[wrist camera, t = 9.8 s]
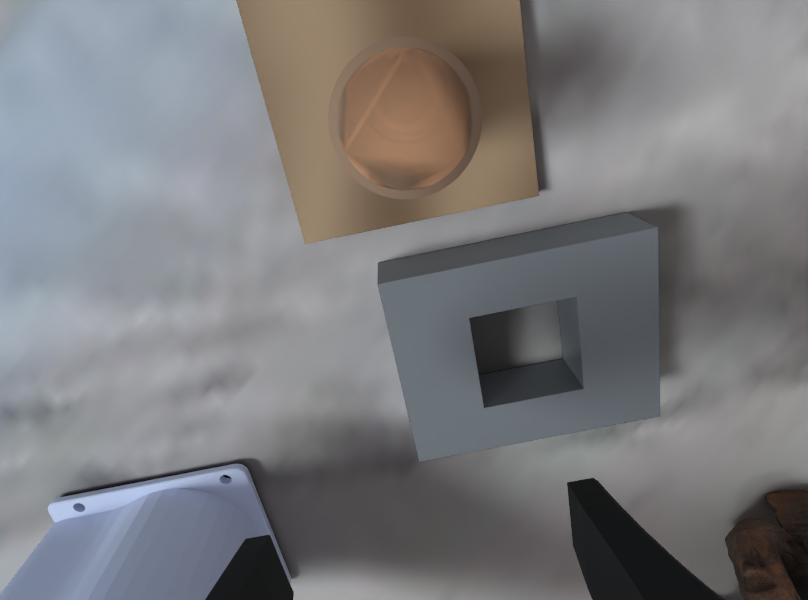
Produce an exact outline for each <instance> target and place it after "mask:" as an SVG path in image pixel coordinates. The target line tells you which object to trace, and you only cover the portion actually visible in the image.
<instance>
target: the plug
mask: <svg viewBox="0 0 808 600" xmlns="http://www.w3.org/2000/svg"><path fill="white" fill-rule="evenodd" d="M328 123H329V132H330V138H331V141H332V144H333V148H334V150H335V152H336V155H337V157H338V159H339V160H340V162H341V164H342V165H343V167H344V168H345V169H346V171H347V172H348V173H349V174H350V175H351V176H352V177H353V178H354V179H355V180H356V181H357V182H358V183H360V184H361V185H362V186H363V187H365V188H367V189H368V190H370V191H372V192H374V193H376V194H379V195H381V196H385V197H388V198H394V199H417V198H422V197H426V196H429V195H432V194H434V193H437V192H439V191H440V190H442V189H444V188H446V187H447V186H448V185H450V184H451V183H452V182H454V181H455V180H456V179H457V178H458V177H459V176H460V175H461V174H462V172H463V171H464V170H465V169H466V167H467V166H468V164H469V163H470V161H471V160H472V158H473V156H474V153H475V151H476V149H477V146H478V143H479V140H480V135H481V130H482V106H481V101H480V96H479V93H478V90H477V87H476V84H475V82H474V80H473V78H472V76H471V74H470V73H469V71H468V70H467V68H466V67H465V66H464V65H463V63H462V62H461V61H460V60H459V59H458V58H457V57H456V56H455V55H454V54H453V53H451V52H450V51H449V50H447V49H446V48H444V47H443V46H441V45H439V44H437V43H435V42H432V41H430V40H426V39H423V38H418V37H411V36H400V37H393V38H388V39H384V40H381V41H378V42H376V43H374V44H372V45H370V46H368V47H367V48H365V49H363V50H362V51H360V52H359V53H358V54H357V55H356V56H355V57H354V58H352V60H351V61H350V62H349V63H348V64H347V65H346V66H345V68H344V69H343V71H342V72H341V74H340V75H339V77H338V79H337V81H336V83H335V86H334V89H333V92H332V94H331V99H330V104H329V113H328Z"/></svg>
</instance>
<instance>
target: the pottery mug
mask: <svg viewBox="0 0 808 600" xmlns="http://www.w3.org/2000/svg"><path fill="white" fill-rule="evenodd" d="M766 501H767V503H768V504H769V506H770V507H771V508H772V509H773V511H774V512H775V514H776V519H777V521H778V523H779V525H780V526H781V528H780V527H778V526H776V525H775V524H772V523H769V522H766V521H763V520H757V519H744V520H743V521H741V522H739V523H738V524H737V525H736V526H735V527H734V528H733V529H732V530H731V531H730V532H729V533H728V535H727V537H726V538H725V542H726V545H727V548H728V555H729V557H730V559H731V561H732V563H733V565H734V569H735V574H736V577H737V579H738V582H739V587H740V590H741V593H742V596H743V598H744V600H808V491H805V490H798V491H785V492H777V493H769V494H767V495H766Z"/></svg>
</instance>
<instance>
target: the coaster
mask: <svg viewBox="0 0 808 600" xmlns="http://www.w3.org/2000/svg"><path fill="white" fill-rule="evenodd" d="M236 1H237V4H238V8H239V12H240V15H241V19H242V22H243V26H244V29H245V33H246V36H247V40H248V43H249V47H250V50H251V54H252V58H253V61H254V65H255V68H256V72H257V75H258V79H259V82H260V86H261V89H262V93H263V96H264V100H265V104H266V107H267V111H268V114H269V118H270V121H271V125H272V128H273V132H274V135H275V139H276V142H277V146H278V150H279V153H280V157H281V160H282V164H283V167H284V171H285V174H286V178H287V181H288V185H289V188H290V192H291V196H292V199H293V203H294V206H295V210H296V213H297V217H298V220H299V224H300V227H301V231H302V234H303V238H304V242H305V244H308V243H313V242H317V241H322V240H327V239H332V238H337V237H342V236H346V235H351V234H356V233H361V232H366V231H371V230H375V229H380V228H385V227H390V226H395V225H400V224H405V223H409V222H414V221H419V220H424V219H429V218H434V217H438V216H443V215H448V214H453V213H458V212H463V211H467V210H472V209H477V208H482V207H487V206H492V205H496V204H501V203H506V202H511V201H516V200H521V199H525V198H530V197H535V196H539V191H538V180H537V170H536V160H535V150H534V140H533V130H532V120H531V110H530V100H529V90H528V79H527V69H526V59H525V49H524V39H523V29H522V19H521V9H520V0H236ZM400 36H411V37H418V38H423V39H426V40H430V41H432V42H435V43H437V44H439V45H441V46H443V47H444V48H446V49H447V50H449V51H450V52H451V53H453V54H454V55H455V56H456V57H457V58H458V59H459V60H460V61H461V62H462V63H463V65H464V66H465V67H466V68H467V70H468V71H469V73H470V74H471V76H472V78H473V80H474V82H475V84H476V87H477V90H478V93H479V96H480V101H481V106H482V130H481V135H480V140H479V143H478V146H477V149H476V151H475V153H474V156H473V158H472V160H471V161H470V163H469V164H468V166H467V167H466V169H465V170H464V171H463V172H462V174H461V175H460V176H459V177H458V178H457V179H456V180H455V181H454V182H452V183H451V184H450V185H448V186H447V187H446V188H444V189H442V190H440V191H439V192H437V193H434V194H432V195H429V196H426V197H422V198H417V199H394V198H388V197H385V196H381V195H379V194H376V193H374V192H372V191H370V190H368V189H367V188H365V187H363V186H362V185H361V184H360V183H358V182H357V181H356V180H355V179H354V178H353V177H352V176H351V175H350V174H349V173H348V172H347V171H346V169H345V168H344V167H343V165H342V164H341V162H340V160H339V159H338V157H337V155H336V152H335V150H334V148H333V144H332V141H331V138H330V132H329V123H328V113H329V104H330V99H331V94H332V92H333V89H334V86H335V83H336V81H337V79H338V77H339V75H340V74H341V72H342V71H343V69H344V68H345V66H346V65H347V64H348V63H349V62H350V61H351V60H352V58H354V57H355V56H356V55H357V54H358V53H359V52H360V51H362V50H363V49H365V48H367V47H368V46H370V45H372V44H374V43H376V42H378V41H381V40H384V39H388V38H393V37H400Z"/></svg>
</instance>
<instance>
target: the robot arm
mask: <svg viewBox="0 0 808 600" xmlns="http://www.w3.org/2000/svg"><path fill="white" fill-rule="evenodd" d="M223 475H228V476H230V477H231V478H226V477H224V476H223ZM567 485H568V496H569V506H570V517H571V527H572V538H573V546H574V549H575V552H576V555H577V558H578V561H579V564H580V567H581V570H582V573H583V576H584V578H585V581H586V584H587V587H588V590H589V592H590V594H591V597H592V599H593V600H724V599H722V598H721V597H720V596H718V595H717V594H716V593H715V592H714V591H712V590H711V589H710V588H709V587H707V586H706V585H705V584H704V583H703V582H702V581H700V580H699V579H698V578H697V577H696V576H695V575H693V574H692V573H691V572H690V571H689V570H687V569H686V568H685V567H684V566H683V565H682V564H681V563H679V562H678V561H677V560H676V559H675V558H674V557H673V556H672V555H671V554H669V553H668V552H667V551H666V550H665V549H664V548H663V547H662V546H661V545H660V544H659V543H658V542H657V541H656V540H655V539H653V538H652V537H651V536H650V535H649V534H648V533H647V532H646V531H645V530H644V529H643V528H642V527H641V526H640V525H639V524H638V523H637V522H636V521H635V520H634V519H633V518H632V517H631V516H630V515H629V514H628V513H627V512H626V511H625V510H624V509H623V508H622V507H621V506H620V505H619V504H618V503H617V502H616V500H615V499H614V498H613V497H612V496H611V495H610V494H609V493H608V492H607V491H606V490H605V488H604V487H603V486H602V485H601V484H600V483H599V482H598V481H597V480H596V479H594V478H591V479H585V480H579V481H573V482H568V483H567ZM81 504H83V505H84V506H83V505H81ZM48 512H49V514H50V515H51V517H52V519H53V520H54V522H55V523H54V524H53V526H52V527H51V528H50V530H49V531H48V532H47V533H46V535H45V536H44V537H43V539H42V540H41V541H40V543H39V544H38V545H37V547H36V548H35V549H34V551H33V552H32V553H31V554H30V556H29V557H28V558H27V560H26V561H25V562H24V564H23V565H22V566H21V568H20V569H19V570H18V571H17V573H16V574H15V575H14V577H13V578H12V579H11V581H10V582H9V583H8V585H7V586H6V587H5V589H4V590H3V591H2V592H1V594H0V600H293V594H294V593H293V590H292V588H291V585H290V582H291V576H290V574H289V571H288V569H287V566H286V564H285V561H284V559H283V556H282V554H281V551H280V549H279V546H278V543H277V541H276V538H275V536H274V533H273V531H272V528H271V526H270V523H269V521H268V518H267V516H266V513H265V511H264V508H263V506H262V503H261V500H260V498H259V495H258V493H257V490H256V488H255V485H254V483H253V480H252V478H251V475H250V473H249V470H248V469H247V467H245V466H244V465H242V464H231V465H226V466H221V467H216V468H210V469H205V470H200V471H195V472H190V473H184V474H179V475H174V476H169V477H164V478H158V479H153V480H148V481H143V482H138V483H132V484H127V485H122V486H117V487H112V488H106V489H101V490H96V491H91V492H86V493H81V494H75V495H70V496H65V497H60V498H56V499H54V500H53V501H52V503H51V504H50V505H49V506H48Z"/></svg>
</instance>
